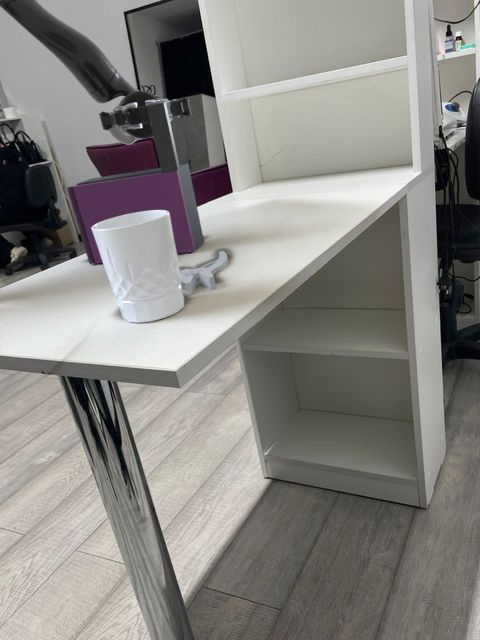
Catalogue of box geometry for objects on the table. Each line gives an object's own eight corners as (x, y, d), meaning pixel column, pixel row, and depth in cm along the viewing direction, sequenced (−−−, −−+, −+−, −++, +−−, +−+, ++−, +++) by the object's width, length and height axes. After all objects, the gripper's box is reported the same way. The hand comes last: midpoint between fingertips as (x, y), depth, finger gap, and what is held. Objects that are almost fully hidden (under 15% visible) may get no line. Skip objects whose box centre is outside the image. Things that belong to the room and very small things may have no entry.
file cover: (88, 264, 83) (45, 123, 75) (91, 262, 84) (49, 123, 76) (195, 251, 80) (163, 102, 72) (197, 249, 81) (166, 102, 73)
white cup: (202, 307, 57) (181, 212, 53) (132, 332, 54) (104, 232, 50) (173, 293, 63) (152, 207, 59) (108, 314, 60) (82, 225, 56)
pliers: (222, 244, 76) (241, 270, 62) (225, 255, 76) (243, 284, 63) (153, 258, 74) (156, 289, 61) (155, 270, 75) (159, 302, 62)
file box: (99, 262, 85) (76, 183, 80) (111, 253, 89) (90, 178, 84) (196, 250, 81) (178, 167, 76) (204, 241, 86) (188, 163, 81)
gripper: (92, 99, 93) (94, 93, 78) (174, 86, 96) (190, 77, 81) (105, 145, 96) (109, 147, 81) (183, 131, 99) (200, 130, 84)
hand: (149, 112), depth 81 cm, fingers open, 8 cm apart
